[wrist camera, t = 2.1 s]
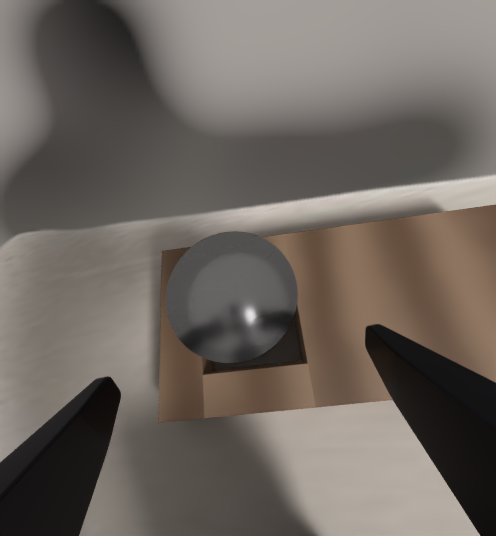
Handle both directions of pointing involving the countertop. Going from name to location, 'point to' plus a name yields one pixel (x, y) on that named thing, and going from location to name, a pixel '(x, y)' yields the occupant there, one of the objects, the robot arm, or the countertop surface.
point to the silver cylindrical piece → (231, 297)
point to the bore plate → (352, 314)
